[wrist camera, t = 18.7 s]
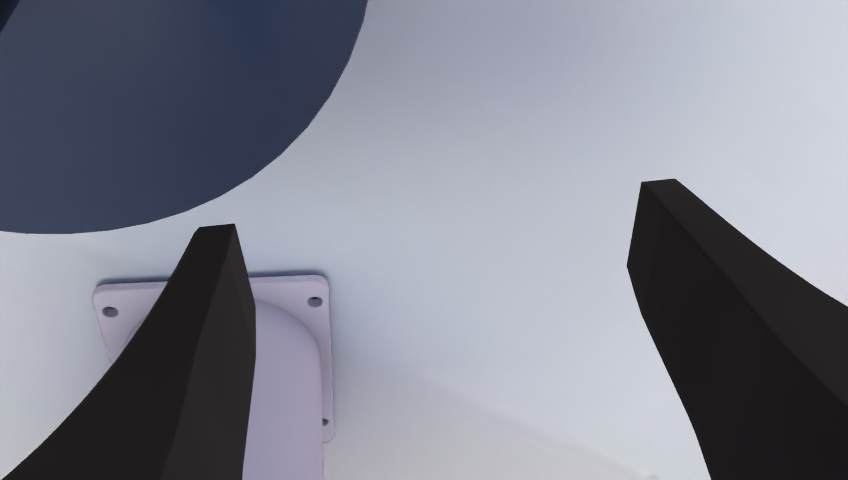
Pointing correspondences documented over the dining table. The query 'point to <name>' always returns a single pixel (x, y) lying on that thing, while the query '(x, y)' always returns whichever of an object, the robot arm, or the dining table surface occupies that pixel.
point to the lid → (154, 102)
